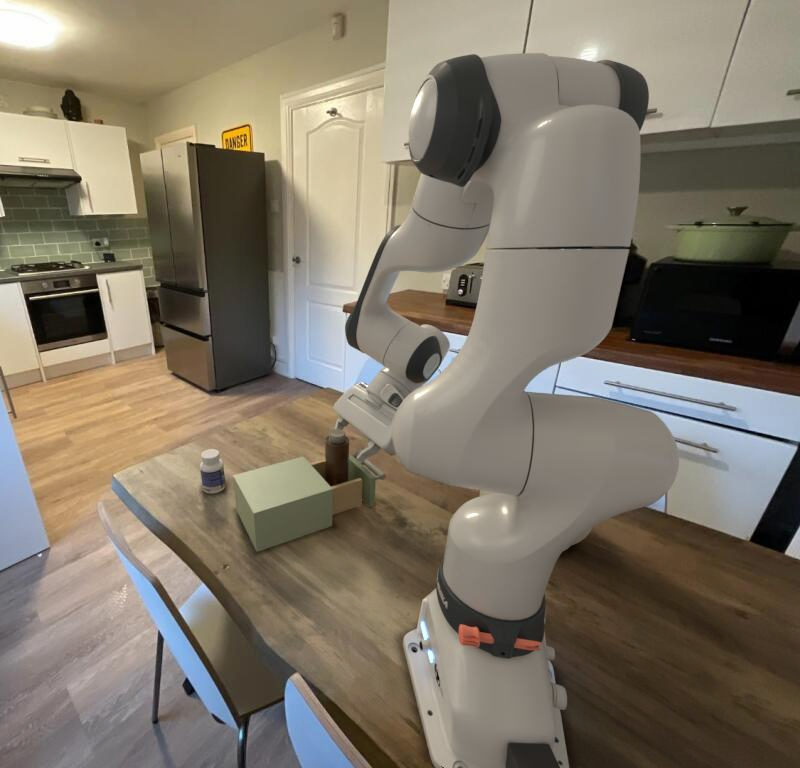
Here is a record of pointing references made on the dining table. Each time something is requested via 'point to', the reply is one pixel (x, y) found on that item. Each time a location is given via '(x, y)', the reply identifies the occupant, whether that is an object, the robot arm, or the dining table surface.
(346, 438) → the pepper mill
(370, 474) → the drawer
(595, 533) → the dining table surface
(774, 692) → the dining table surface
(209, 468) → the pill bottle
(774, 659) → the dining table surface
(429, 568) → the dining table surface
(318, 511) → the cabinet
